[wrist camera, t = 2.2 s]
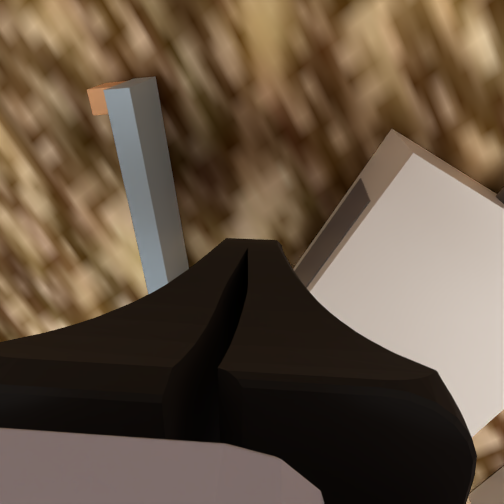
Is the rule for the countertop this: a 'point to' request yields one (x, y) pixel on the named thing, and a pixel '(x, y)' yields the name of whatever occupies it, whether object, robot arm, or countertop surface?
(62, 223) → the countertop surface
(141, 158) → the side door
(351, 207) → the white box with knob
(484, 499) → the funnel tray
